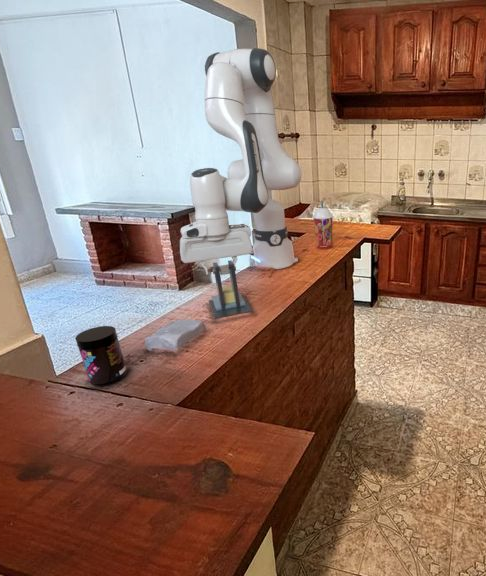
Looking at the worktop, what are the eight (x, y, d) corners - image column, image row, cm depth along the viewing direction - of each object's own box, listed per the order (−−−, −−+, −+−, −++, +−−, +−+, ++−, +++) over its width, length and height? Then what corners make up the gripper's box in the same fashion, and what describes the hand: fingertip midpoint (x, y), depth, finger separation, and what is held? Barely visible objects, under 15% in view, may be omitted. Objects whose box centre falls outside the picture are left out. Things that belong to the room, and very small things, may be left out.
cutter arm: (211, 273, 120) (209, 265, 119) (229, 270, 122) (228, 262, 122) (215, 276, 107) (213, 267, 107) (236, 272, 109) (234, 264, 109)
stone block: (144, 358, 92) (179, 354, 90) (136, 339, 91) (172, 335, 88) (177, 336, 103) (210, 332, 101) (171, 319, 102) (204, 314, 99)
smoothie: (335, 248, 172) (333, 202, 165) (316, 250, 171) (312, 203, 163) (332, 244, 180) (330, 199, 173) (314, 245, 178) (311, 200, 171)
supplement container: (97, 371, 84) (84, 327, 81) (132, 367, 86) (120, 324, 82) (83, 390, 78) (68, 343, 74) (121, 385, 79) (107, 339, 76)
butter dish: (211, 298, 118) (209, 286, 117) (239, 293, 121) (237, 282, 120) (216, 310, 110) (214, 298, 108) (245, 305, 113) (243, 292, 112)
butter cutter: (209, 304, 117) (201, 259, 112) (243, 298, 121) (237, 254, 117) (215, 322, 106) (206, 273, 101) (253, 315, 110) (247, 267, 105)
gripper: (247, 221, 122) (253, 264, 127) (175, 229, 114) (183, 274, 119) (251, 224, 117) (257, 269, 122) (175, 233, 108) (185, 280, 113)
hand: (220, 272), depth 120 cm, fingers closed on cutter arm, 5 cm apart
